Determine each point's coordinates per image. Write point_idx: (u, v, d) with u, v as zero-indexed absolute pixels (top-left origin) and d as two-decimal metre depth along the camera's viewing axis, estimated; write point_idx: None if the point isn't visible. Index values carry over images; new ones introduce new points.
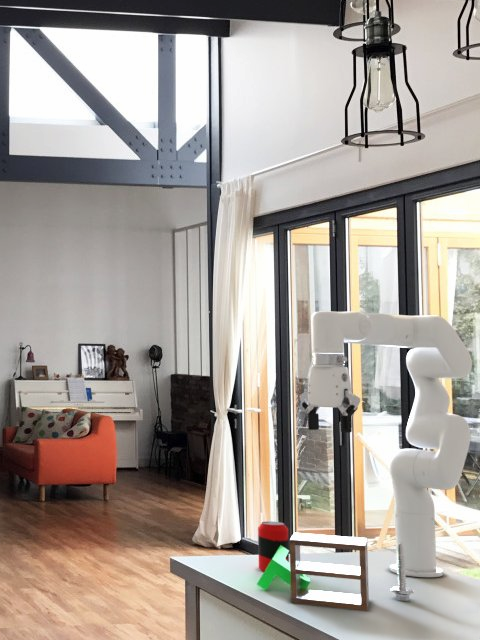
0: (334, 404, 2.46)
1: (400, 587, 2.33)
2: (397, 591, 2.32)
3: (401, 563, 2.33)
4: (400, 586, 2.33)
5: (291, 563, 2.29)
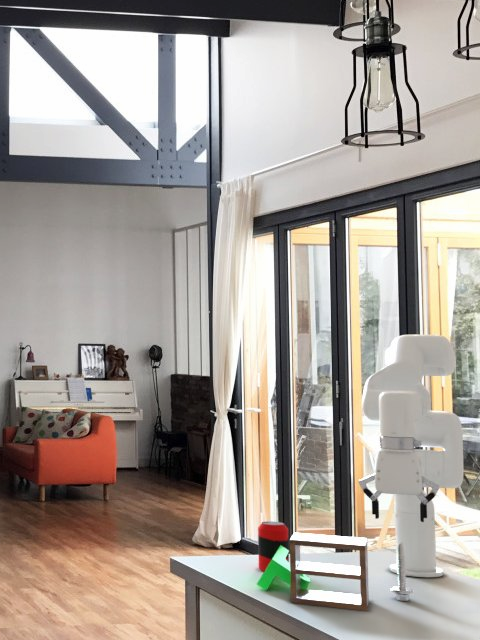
0: (413, 492, 2.32)
1: (400, 587, 2.33)
2: (397, 591, 2.32)
3: (401, 563, 2.33)
4: (400, 586, 2.33)
5: (291, 563, 2.29)
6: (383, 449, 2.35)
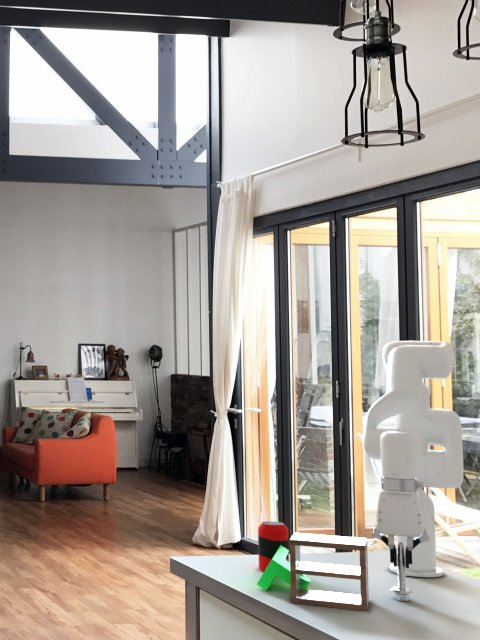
0: (415, 533, 2.31)
1: (400, 587, 2.33)
2: (397, 591, 2.32)
3: (401, 563, 2.33)
4: (400, 586, 2.33)
5: (291, 563, 2.29)
6: (384, 490, 2.35)
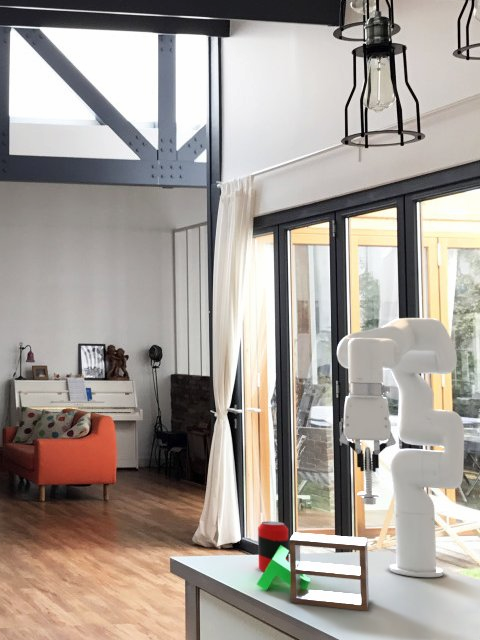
0: (381, 437, 2.32)
1: (367, 491, 2.33)
2: (364, 495, 2.32)
3: (368, 467, 2.34)
4: (367, 490, 2.33)
5: (291, 563, 2.29)
6: (352, 395, 2.35)
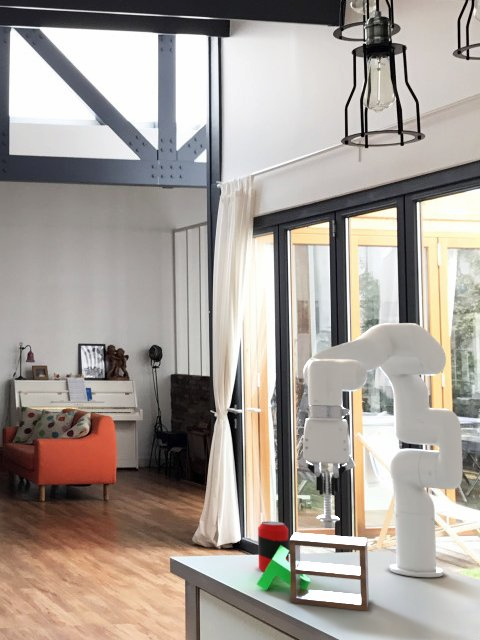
0: (340, 460, 2.30)
1: (326, 514, 2.31)
2: (322, 518, 2.30)
3: (327, 490, 2.31)
4: (326, 513, 2.31)
5: (291, 563, 2.29)
6: (311, 418, 2.33)
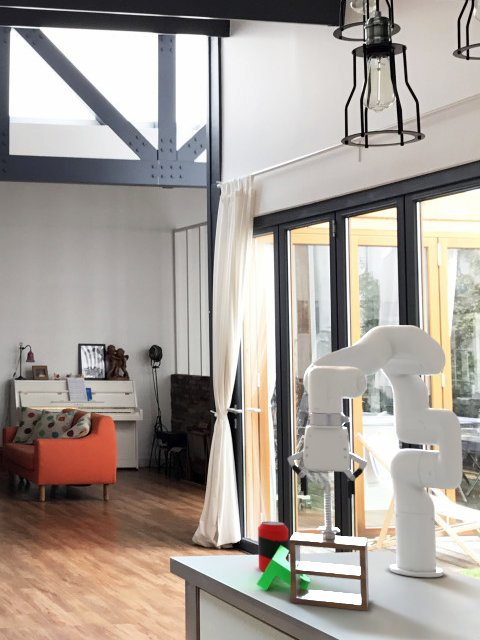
0: (341, 468, 2.30)
1: (326, 526, 2.31)
2: (323, 530, 2.30)
3: (327, 502, 2.31)
4: (326, 525, 2.31)
5: (291, 563, 2.29)
6: (311, 425, 2.33)
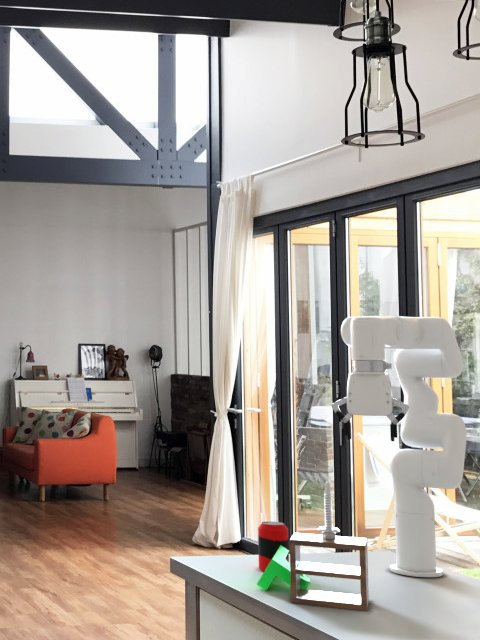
0: (383, 412, 2.39)
1: (326, 526, 2.31)
2: (323, 530, 2.30)
3: (327, 502, 2.31)
4: (326, 525, 2.31)
5: (291, 563, 2.29)
6: (354, 372, 2.42)
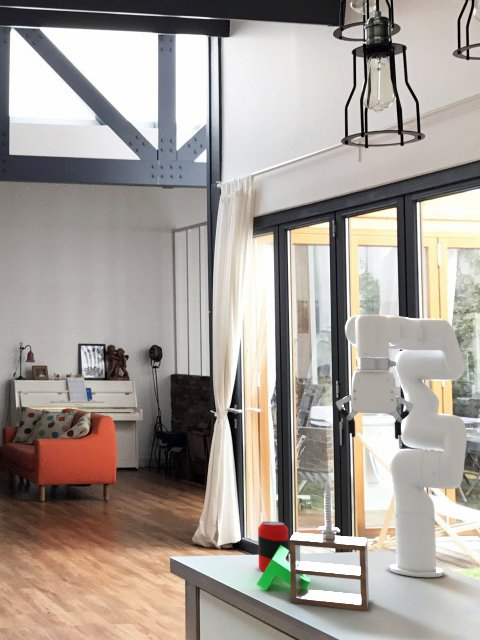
0: (388, 410, 2.40)
1: (326, 526, 2.31)
2: (323, 530, 2.30)
3: (327, 502, 2.31)
4: (326, 525, 2.31)
5: (291, 563, 2.29)
6: (359, 370, 2.43)
